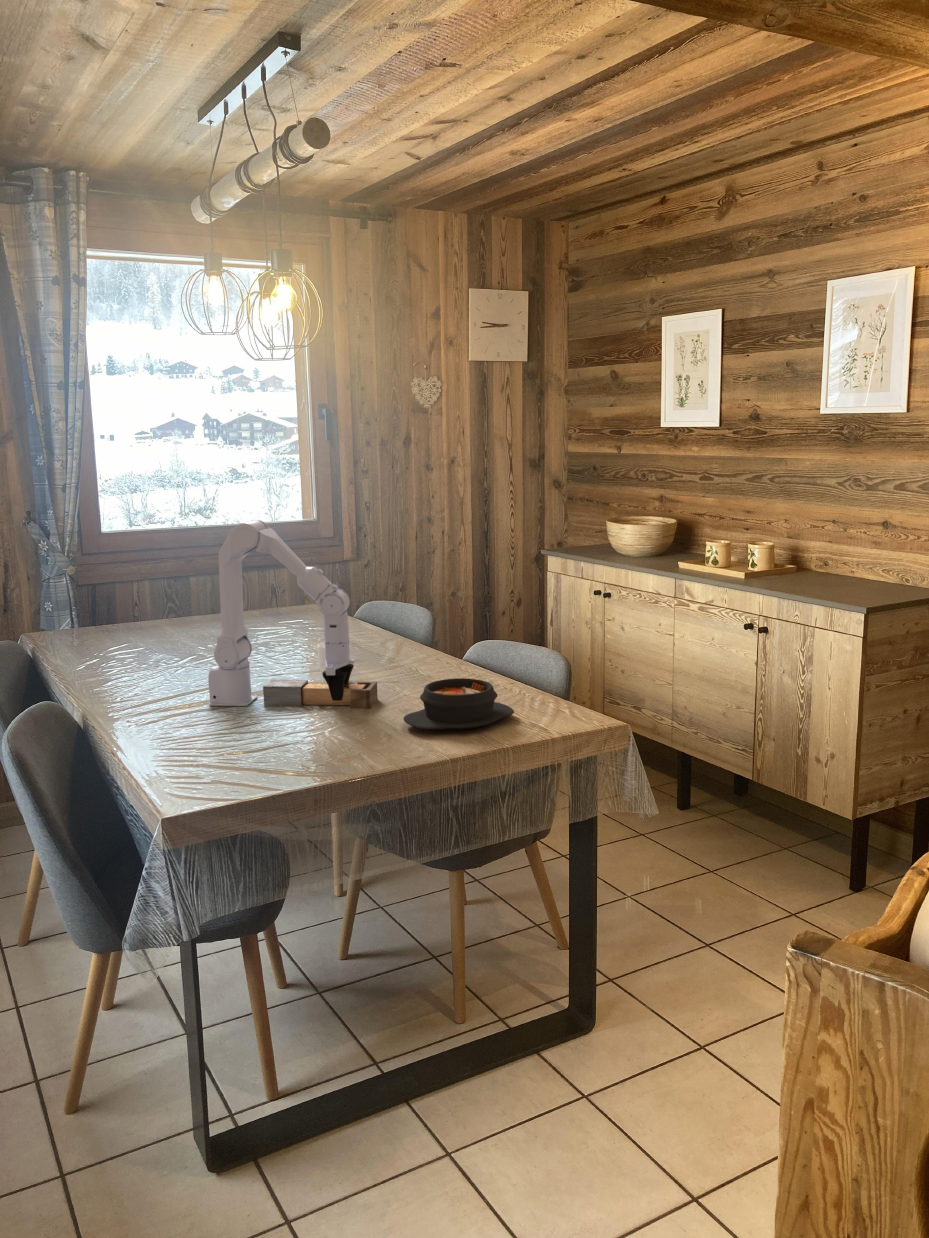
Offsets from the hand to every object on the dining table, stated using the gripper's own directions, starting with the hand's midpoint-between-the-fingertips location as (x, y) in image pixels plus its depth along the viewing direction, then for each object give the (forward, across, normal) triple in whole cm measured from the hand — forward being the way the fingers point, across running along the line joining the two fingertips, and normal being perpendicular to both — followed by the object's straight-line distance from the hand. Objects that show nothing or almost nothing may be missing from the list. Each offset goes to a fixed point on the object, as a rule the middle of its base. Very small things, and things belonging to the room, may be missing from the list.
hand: (339, 697), depth 232 cm
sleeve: (+1, 0, +13) cm, 13 cm away
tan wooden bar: (+1, 0, +2) cm, 2 cm away
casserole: (+2, -14, -30) cm, 34 cm away
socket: (+1, 0, -6) cm, 6 cm away
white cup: (+2, +20, +6) cm, 21 cm away
